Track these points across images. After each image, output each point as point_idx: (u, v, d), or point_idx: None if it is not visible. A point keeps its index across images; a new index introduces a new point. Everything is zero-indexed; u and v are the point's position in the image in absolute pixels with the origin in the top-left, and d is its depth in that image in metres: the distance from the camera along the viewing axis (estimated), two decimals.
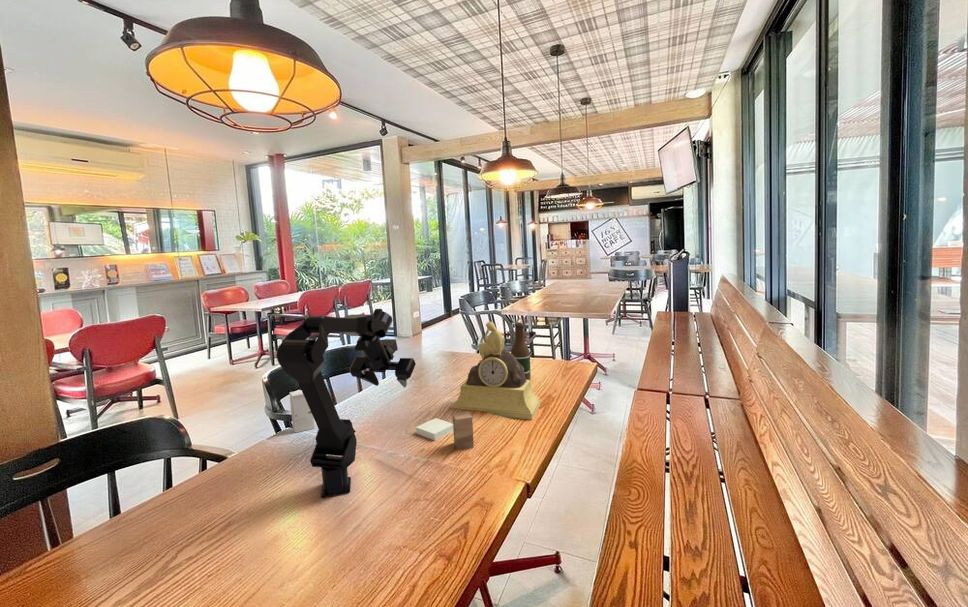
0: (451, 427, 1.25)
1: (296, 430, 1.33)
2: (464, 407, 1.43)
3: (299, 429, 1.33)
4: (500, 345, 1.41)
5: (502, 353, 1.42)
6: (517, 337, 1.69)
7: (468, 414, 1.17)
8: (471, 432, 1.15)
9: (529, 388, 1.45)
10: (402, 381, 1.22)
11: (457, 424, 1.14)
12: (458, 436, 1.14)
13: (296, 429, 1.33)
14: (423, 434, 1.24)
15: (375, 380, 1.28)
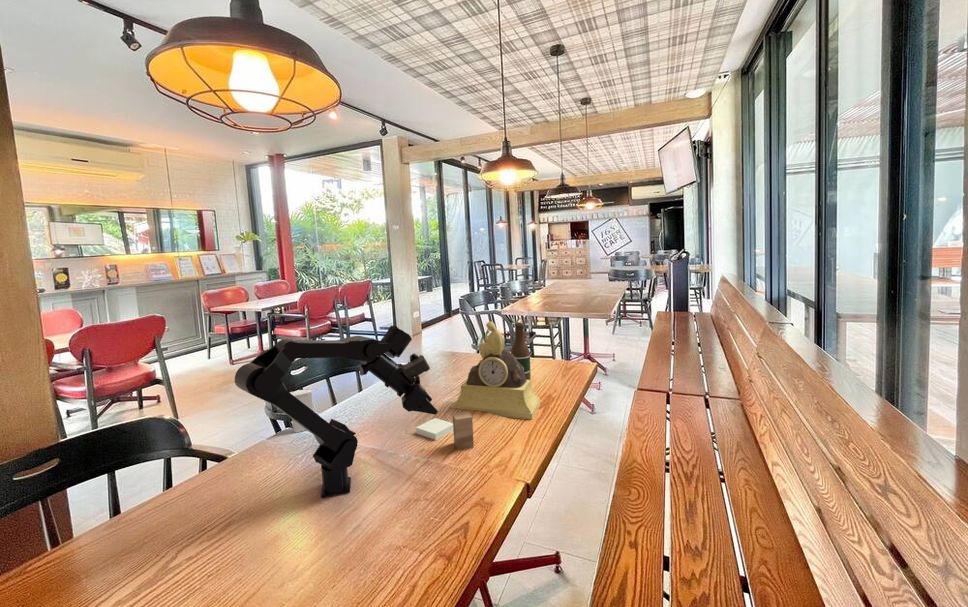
0: (451, 427, 1.26)
1: (296, 430, 1.33)
2: (464, 407, 1.43)
3: (299, 429, 1.33)
4: (500, 345, 1.41)
5: (502, 353, 1.42)
6: (517, 337, 1.69)
7: (468, 414, 1.17)
8: (471, 432, 1.15)
9: (529, 388, 1.45)
10: None
11: (457, 424, 1.14)
12: (458, 436, 1.14)
13: (296, 429, 1.33)
14: (423, 435, 1.24)
15: None
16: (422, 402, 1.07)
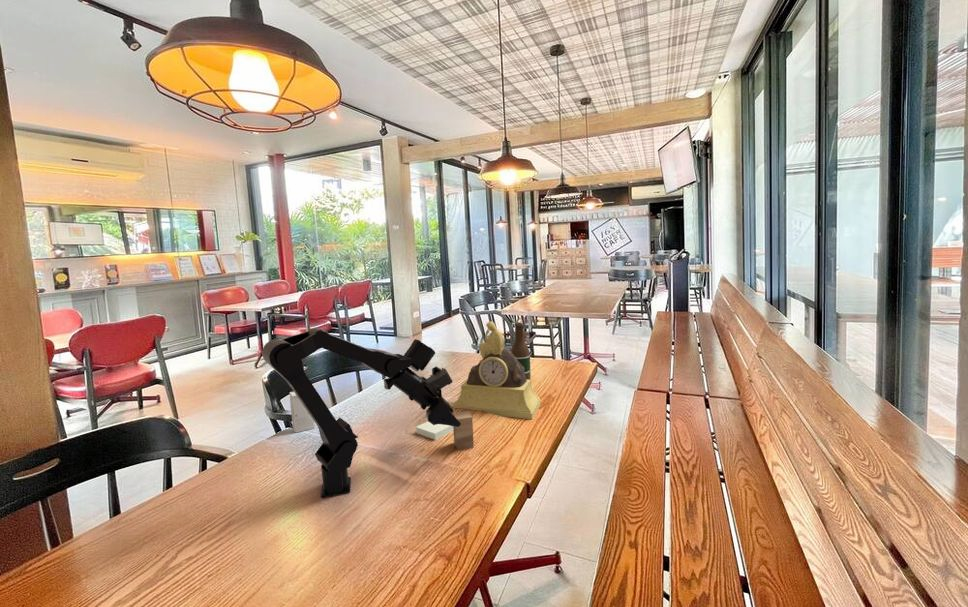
0: (451, 427, 1.26)
1: (296, 430, 1.33)
2: (464, 406, 1.43)
3: (299, 429, 1.33)
4: (500, 345, 1.41)
5: (502, 353, 1.42)
6: (517, 337, 1.69)
7: (468, 414, 1.17)
8: (471, 432, 1.15)
9: (529, 388, 1.45)
10: None
11: None
12: (458, 436, 1.14)
13: (296, 429, 1.33)
14: (423, 434, 1.24)
15: None
16: (446, 415, 1.09)
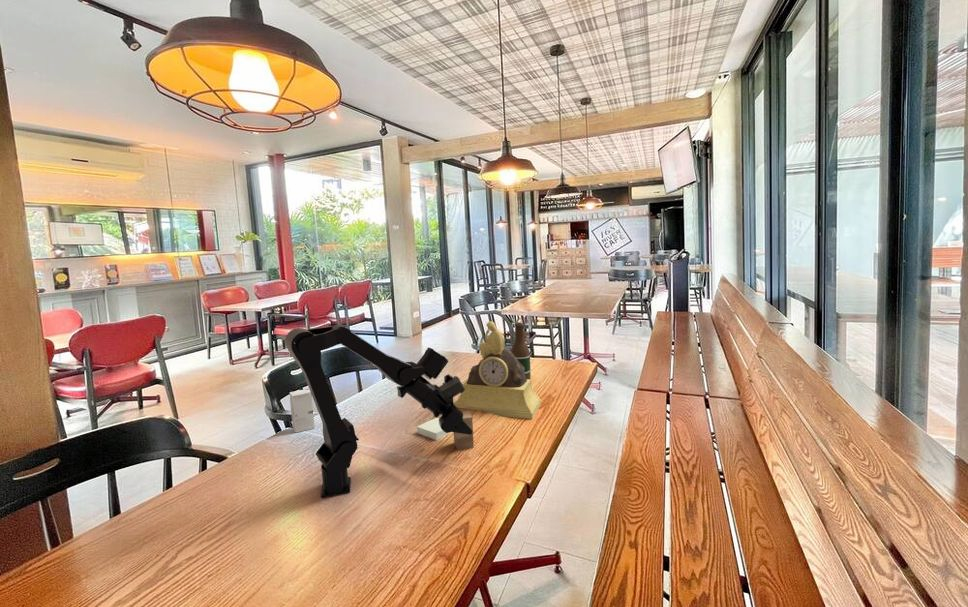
0: None
1: (296, 430, 1.33)
2: (465, 406, 1.43)
3: (299, 429, 1.33)
4: (500, 345, 1.41)
5: (502, 353, 1.42)
6: (517, 337, 1.69)
7: (468, 414, 1.17)
8: None
9: (529, 388, 1.46)
10: None
11: None
12: (458, 436, 1.14)
13: (296, 429, 1.33)
14: (424, 434, 1.24)
15: None
16: (458, 423, 1.10)
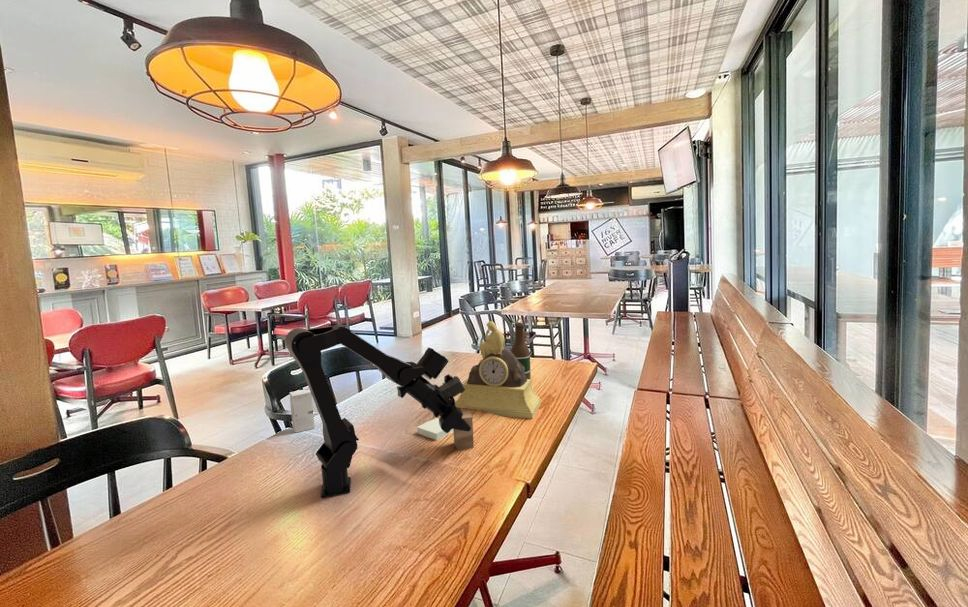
0: None
1: (296, 430, 1.33)
2: (465, 406, 1.44)
3: (299, 429, 1.33)
4: (501, 344, 1.41)
5: (503, 352, 1.42)
6: (517, 337, 1.69)
7: (468, 414, 1.17)
8: (471, 432, 1.15)
9: (530, 387, 1.46)
10: None
11: None
12: (458, 436, 1.14)
13: (296, 429, 1.33)
14: (424, 434, 1.24)
15: None
16: None
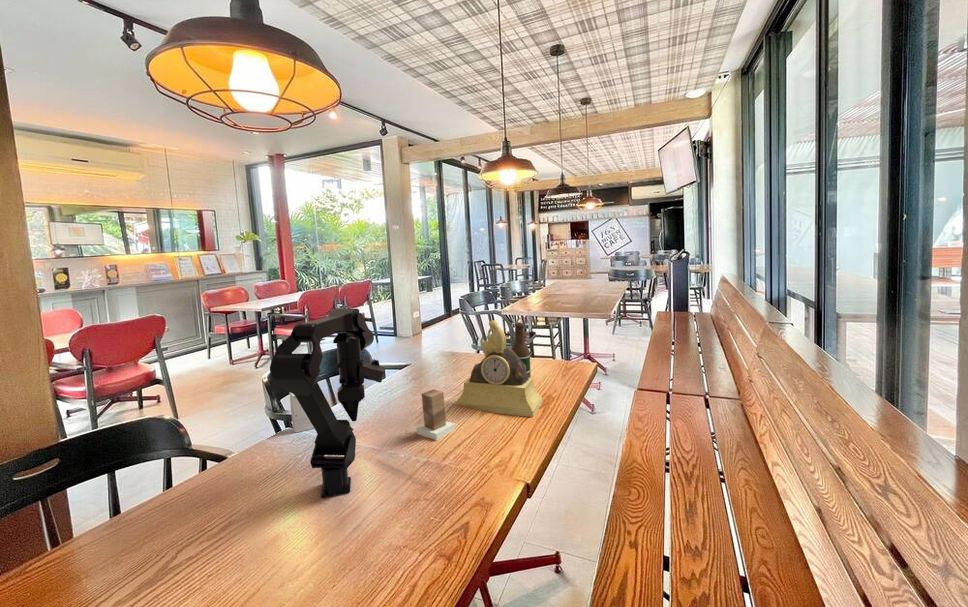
0: (451, 427, 1.26)
1: (296, 430, 1.33)
2: (467, 404, 1.46)
3: (299, 429, 1.33)
4: (502, 343, 1.43)
5: (504, 351, 1.44)
6: (517, 337, 1.69)
7: (437, 391, 1.26)
8: (443, 406, 1.25)
9: (531, 386, 1.47)
10: None
11: (432, 401, 1.22)
12: (434, 412, 1.22)
13: (296, 429, 1.33)
14: (424, 435, 1.24)
15: None
16: (352, 402, 1.06)
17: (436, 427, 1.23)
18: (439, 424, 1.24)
